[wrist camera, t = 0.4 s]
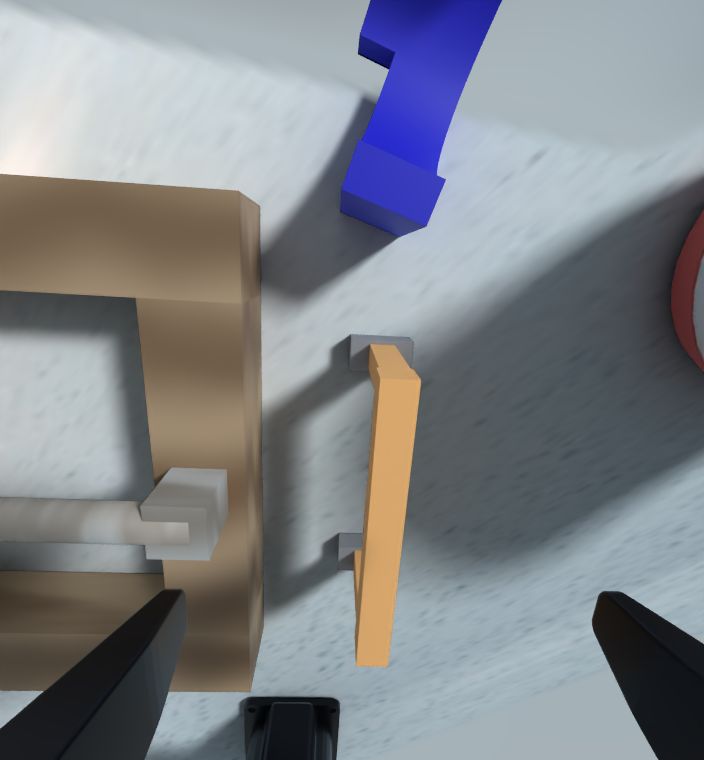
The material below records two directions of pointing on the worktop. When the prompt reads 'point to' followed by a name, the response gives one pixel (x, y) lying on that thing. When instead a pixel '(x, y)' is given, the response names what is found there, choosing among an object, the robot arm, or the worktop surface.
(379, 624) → the orange staple arch
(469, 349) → the worktop surface
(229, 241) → the wooden picture frame
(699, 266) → the citrus juicer
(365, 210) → the cable clip
